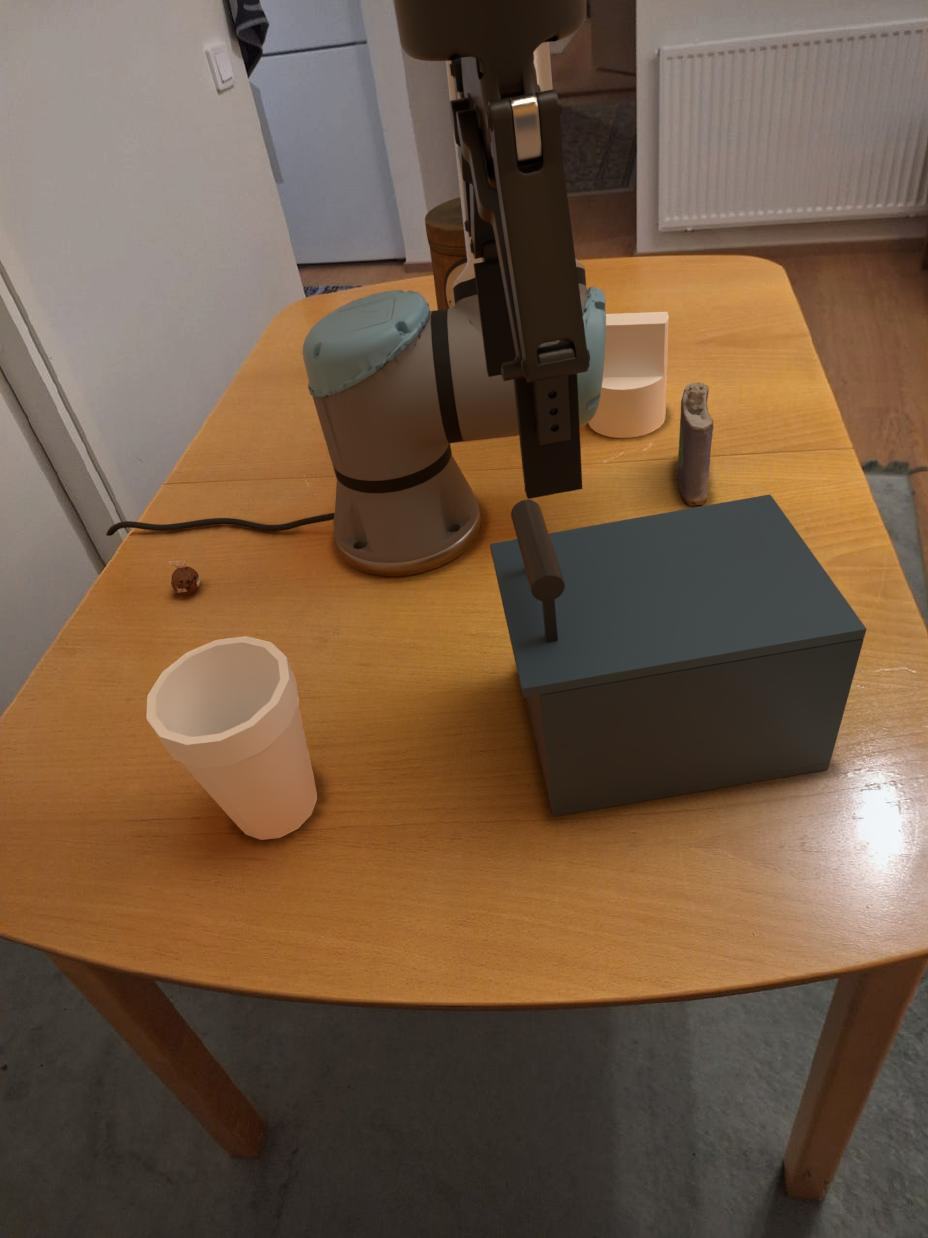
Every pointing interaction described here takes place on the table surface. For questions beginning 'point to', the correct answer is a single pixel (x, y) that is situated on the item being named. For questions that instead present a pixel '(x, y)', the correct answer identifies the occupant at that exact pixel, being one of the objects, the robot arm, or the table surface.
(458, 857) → the table surface
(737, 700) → the box
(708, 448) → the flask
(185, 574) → the chocolate
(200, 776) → the foam cup
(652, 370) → the cylinder with rectangular tab
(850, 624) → the lunchbox lid
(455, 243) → the wooden container
